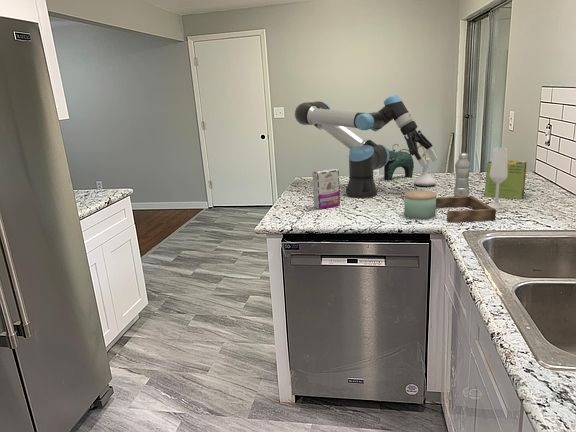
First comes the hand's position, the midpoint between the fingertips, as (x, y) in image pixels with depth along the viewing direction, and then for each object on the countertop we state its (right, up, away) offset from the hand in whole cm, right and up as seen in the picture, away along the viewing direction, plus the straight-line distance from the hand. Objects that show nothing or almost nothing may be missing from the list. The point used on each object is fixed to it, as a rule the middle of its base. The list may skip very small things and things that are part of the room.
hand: (430, 162), depth 206 cm
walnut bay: (+2, -24, -30) cm, 38 cm away
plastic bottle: (+13, -16, -4) cm, 21 cm away
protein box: (+32, -16, -5) cm, 36 cm away
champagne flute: (+20, -21, -23) cm, 37 cm away
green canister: (-14, -25, -29) cm, 41 cm away
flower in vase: (+5, -9, +24) cm, 26 cm away
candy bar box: (-49, -21, -9) cm, 54 cm away
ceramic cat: (-4, -4, +46) cm, 46 cm away
